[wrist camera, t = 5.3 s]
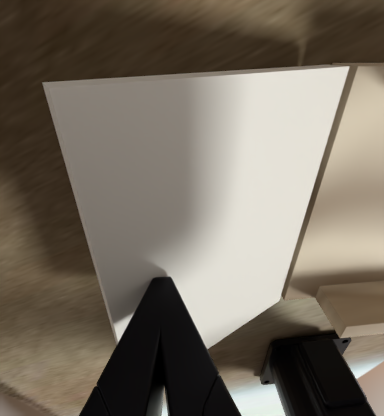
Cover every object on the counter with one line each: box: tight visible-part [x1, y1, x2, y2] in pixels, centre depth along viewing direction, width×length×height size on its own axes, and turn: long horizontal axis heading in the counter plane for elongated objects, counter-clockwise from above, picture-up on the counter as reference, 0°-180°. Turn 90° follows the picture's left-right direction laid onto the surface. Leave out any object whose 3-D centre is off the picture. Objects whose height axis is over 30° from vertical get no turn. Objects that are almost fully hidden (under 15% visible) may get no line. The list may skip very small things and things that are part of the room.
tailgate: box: [42, 65, 350, 349], centre depth 10 cm, size 12×1×9 cm
